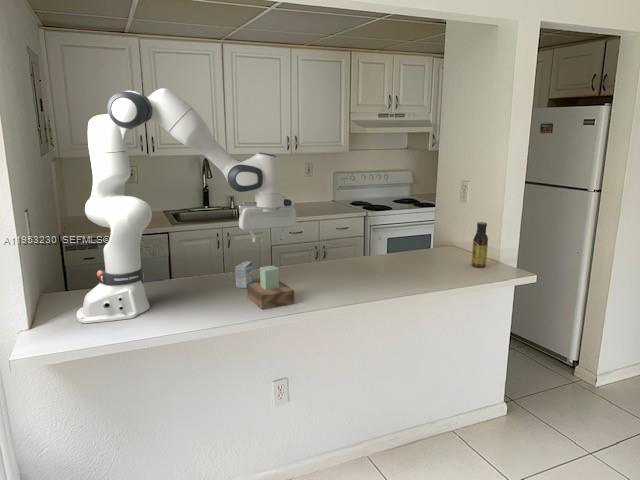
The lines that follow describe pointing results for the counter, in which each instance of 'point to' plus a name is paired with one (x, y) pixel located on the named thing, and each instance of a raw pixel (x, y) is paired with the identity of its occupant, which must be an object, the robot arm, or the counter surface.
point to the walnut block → (270, 295)
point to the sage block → (269, 277)
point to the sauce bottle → (480, 246)
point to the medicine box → (244, 274)
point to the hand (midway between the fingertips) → (268, 240)
